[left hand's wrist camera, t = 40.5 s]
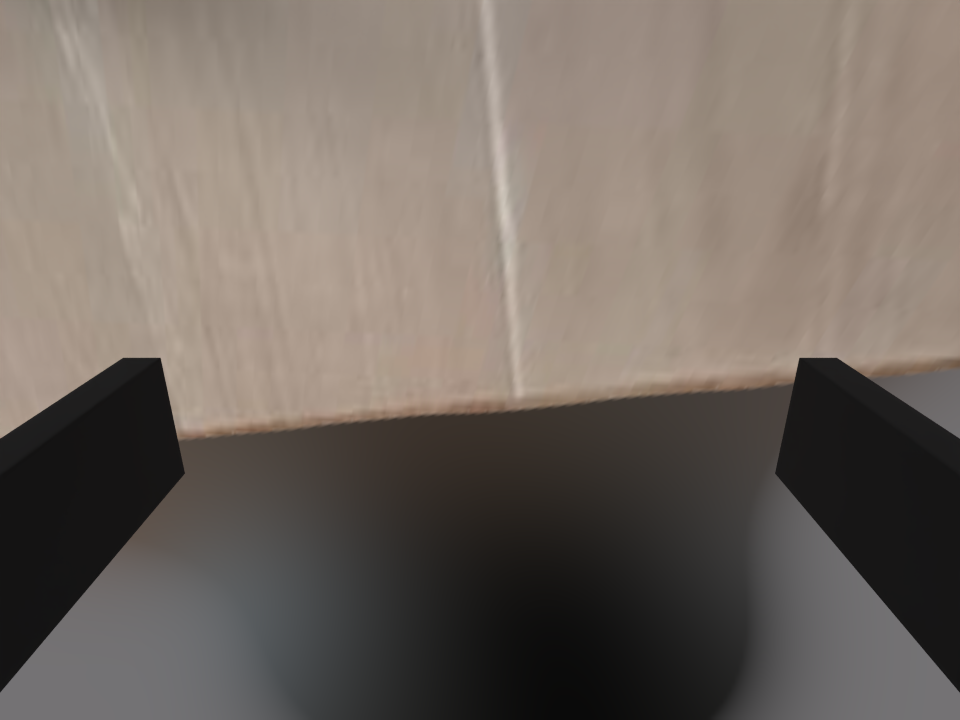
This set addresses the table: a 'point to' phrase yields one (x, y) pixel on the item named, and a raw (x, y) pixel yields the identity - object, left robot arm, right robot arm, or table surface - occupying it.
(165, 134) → the table surface
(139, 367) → the left robot arm
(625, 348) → the table surface
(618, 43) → the table surface
